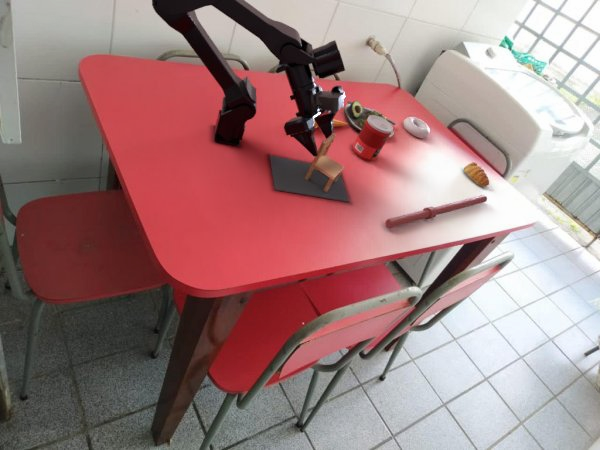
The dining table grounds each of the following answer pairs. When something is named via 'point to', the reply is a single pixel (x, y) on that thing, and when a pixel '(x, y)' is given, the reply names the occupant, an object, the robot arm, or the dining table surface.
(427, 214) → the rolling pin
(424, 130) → the donut
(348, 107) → the salad plate
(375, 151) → the canned food
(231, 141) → the robot arm
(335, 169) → the toy chair
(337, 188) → the mat
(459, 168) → the dining table surface
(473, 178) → the pastry
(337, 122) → the carrot
